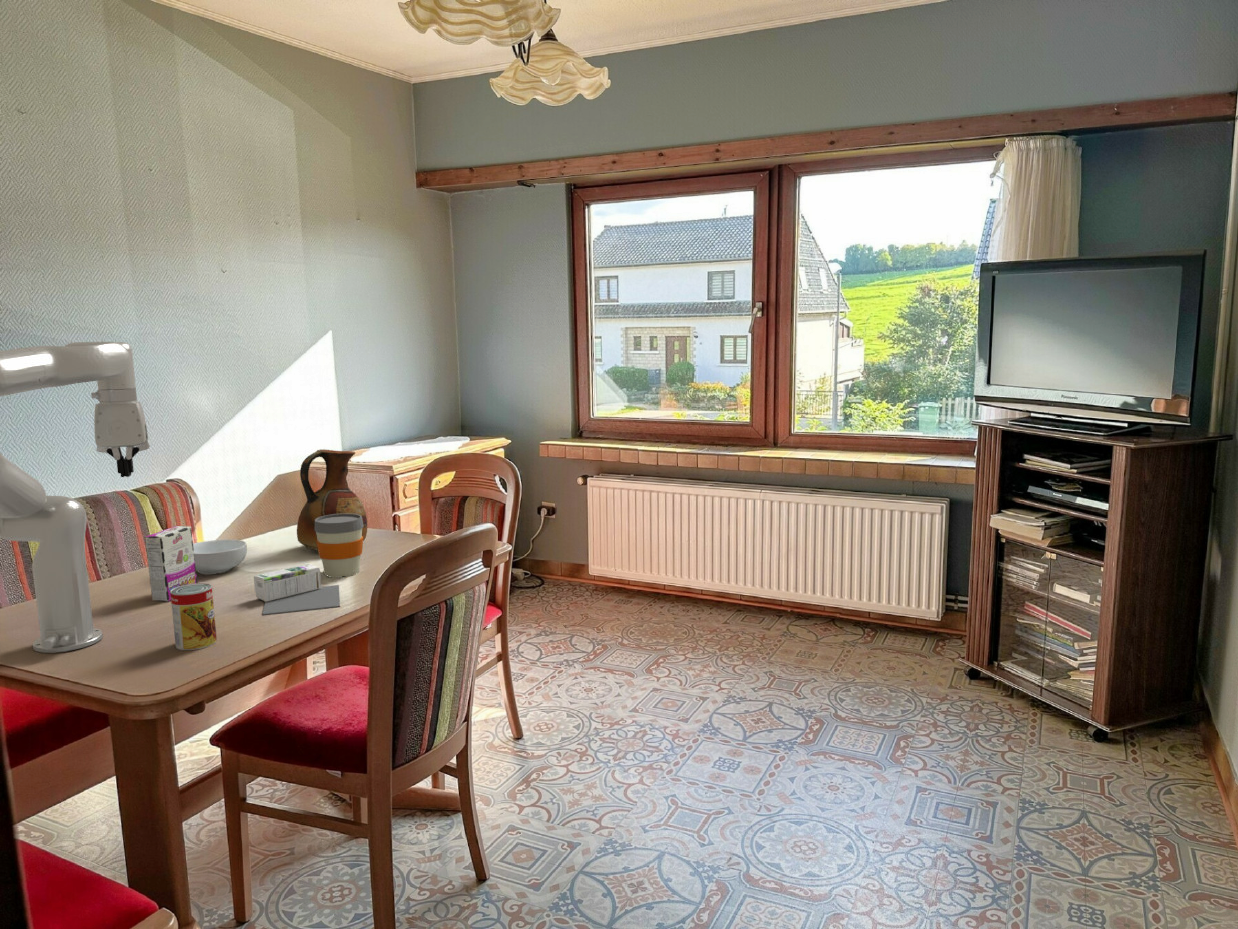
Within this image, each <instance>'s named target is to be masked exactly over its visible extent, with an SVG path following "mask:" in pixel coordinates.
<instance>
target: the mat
mask: <svg viewBox="0 0 1238 929" xmlns="http://www.w3.org/2000/svg"><path fill="white" fill-rule="evenodd" d="M340 607H341V604H340V585H339V584H336V585H333V584H332V585H326V586H325V585H324V586H321V588H320V589H316V590H312V591H308V592H304V593H300V594H296V595H292V596H288V597H284V598H280V599H275V600H271V601H267V602H266V601H264V606H263V610H262V616H269V615H276V614H278V615H279V614H285V613H288V614H289V613H296V612H306V611H312V610H313V611H315V610H322V609H321V608H325V609H333V608H340Z"/></svg>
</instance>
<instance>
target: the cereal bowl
mask: <svg viewBox="0 0 1238 929" xmlns="http://www.w3.org/2000/svg"><path fill="white" fill-rule="evenodd" d="M247 547H248V546H247V542H246V541H244V540H240V539H213V540H206V541H205V540H204V541H199V542H193V548H194V558H195V566H196V572H197V573H199V574H201V575H217V574H216V573H219V574H223V573H227V572H229V571H230V570H232V569H233V568H235V567H237V566H238V565H241V563H242V562H244V560H245V558H246V556H247V552H248V551H247V550H248V548H247ZM226 571H227V572H226Z"/></svg>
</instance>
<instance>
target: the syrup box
mask: <svg viewBox="0 0 1238 929" xmlns="http://www.w3.org/2000/svg"><path fill="white" fill-rule="evenodd" d="M253 582H254V583H253V584H254V585H253V586H254V592H255V597H256V598H257V599H260V600H261V601H264V602H265V601H266V602H267V601H271V600H275V599H280V598H284V597H288V596H292V595H296V594H300V593H304V592H308V591H312V590H316V589H320V588H321V587H322V578H321V570H320V567H319V566H314V565H312V564H309V563H307V564H303V565H298V566H293V567H289V568H283V569H279V570H275V571H269V572H266V573H262V574H257V575H254V576H253Z"/></svg>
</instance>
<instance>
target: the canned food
mask: <svg viewBox="0 0 1238 929" xmlns="http://www.w3.org/2000/svg"><path fill="white" fill-rule="evenodd" d="M170 595H171V601H170V602H171V611H172V612H171V613H172V614H171V615H172V624H173V633H174V643H175V644H174V646H175V648H176V649H177V650H181V651H195V650H202V649H205V648H208V646H209V647H211V646H213V645H215V644H216V642H217V641H218V638H217V629H216V626H217V625H216V616H215V605H214V594H213V585H211V584H210V583H204V582H197V583H194V584H187V585H182V586H178V587H176V588H173V589H172V590H171V591H170ZM201 648H202V649H201Z"/></svg>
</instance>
